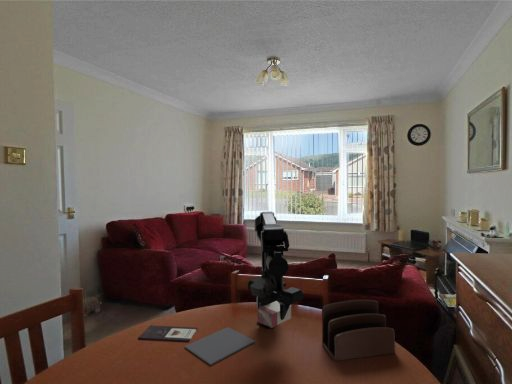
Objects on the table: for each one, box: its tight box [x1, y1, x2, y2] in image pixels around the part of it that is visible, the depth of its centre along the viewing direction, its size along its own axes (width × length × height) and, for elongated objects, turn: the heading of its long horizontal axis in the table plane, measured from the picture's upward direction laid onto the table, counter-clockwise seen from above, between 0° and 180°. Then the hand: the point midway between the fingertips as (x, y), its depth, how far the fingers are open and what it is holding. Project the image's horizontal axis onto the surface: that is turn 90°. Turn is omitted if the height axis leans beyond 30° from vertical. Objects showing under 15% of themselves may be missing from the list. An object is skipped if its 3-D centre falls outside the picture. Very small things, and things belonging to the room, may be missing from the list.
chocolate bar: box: [137, 325, 198, 343], centre depth 108 cm, size 9×1×18 cm
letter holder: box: [321, 299, 396, 362], centre depth 97 cm, size 10×20×14 cm, turn 101°
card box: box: [257, 301, 292, 329], centre depth 96 cm, size 9×6×4 cm, turn 135°
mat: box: [184, 326, 256, 367], centre depth 100 cm, size 18×14×1 cm
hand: (274, 316), depth 96 cm, fingers closed on card box, 6 cm apart
